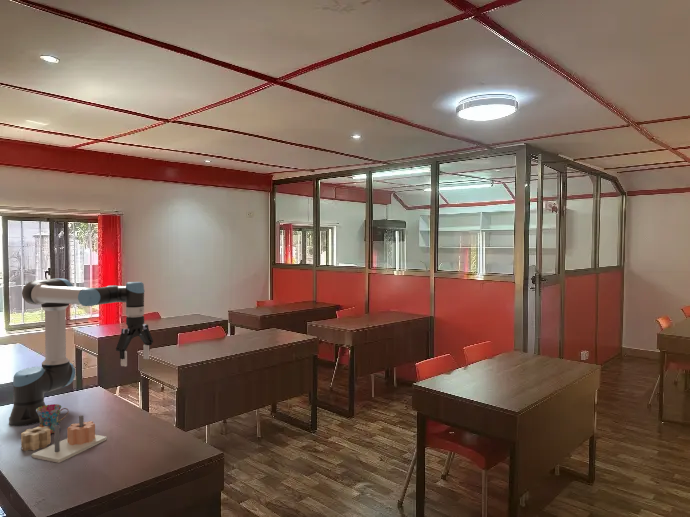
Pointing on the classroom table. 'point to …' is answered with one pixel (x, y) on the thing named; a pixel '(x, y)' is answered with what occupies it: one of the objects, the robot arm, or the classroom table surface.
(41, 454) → the gear board
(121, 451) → the classroom table surface
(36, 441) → the gear
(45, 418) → the mug
